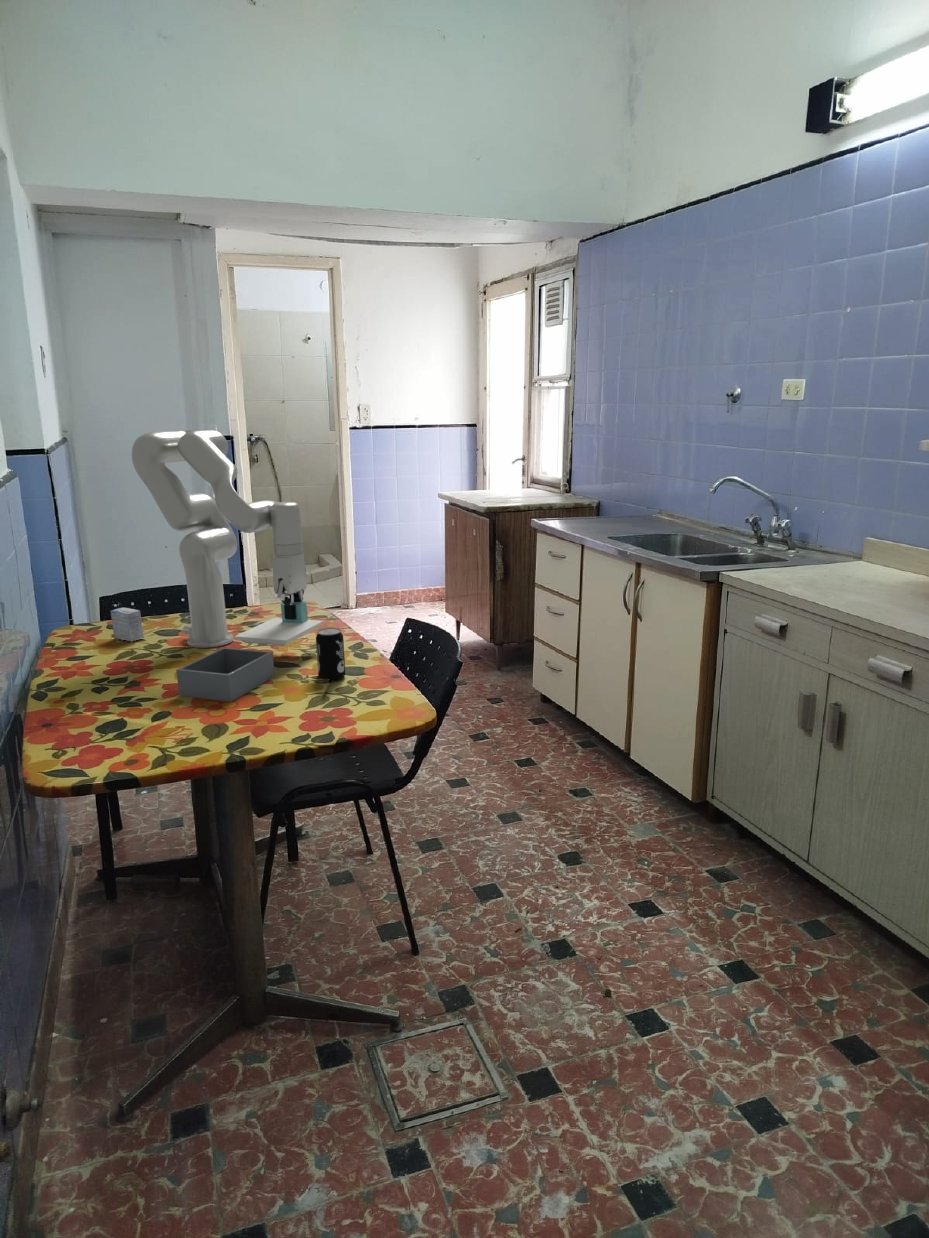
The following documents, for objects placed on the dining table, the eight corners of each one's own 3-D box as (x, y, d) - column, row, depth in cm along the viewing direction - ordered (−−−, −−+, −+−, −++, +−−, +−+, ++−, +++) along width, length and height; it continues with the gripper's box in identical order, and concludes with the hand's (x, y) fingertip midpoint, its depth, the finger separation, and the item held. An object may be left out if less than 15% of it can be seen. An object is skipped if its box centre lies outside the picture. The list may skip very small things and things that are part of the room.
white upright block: (144, 639, 236) (140, 610, 234) (131, 643, 232) (127, 613, 230) (127, 635, 240) (123, 606, 238) (113, 639, 236) (109, 610, 234)
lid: (235, 644, 207) (232, 617, 205) (275, 624, 224) (273, 599, 222) (286, 648, 202) (284, 620, 200) (324, 628, 219) (322, 602, 218)
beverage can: (333, 684, 196) (330, 636, 193) (312, 679, 199) (309, 632, 196) (351, 676, 201) (348, 629, 198) (330, 672, 204) (327, 625, 201)
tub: (179, 698, 188) (176, 669, 186) (225, 674, 204) (223, 647, 202) (231, 705, 183) (228, 675, 181) (274, 679, 200) (272, 652, 198)
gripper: (292, 544, 223) (297, 609, 228) (259, 554, 208) (265, 624, 213) (316, 544, 221) (321, 610, 226) (284, 555, 206) (290, 626, 211)
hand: (294, 616), depth 219 cm, fingers closed on lid, 3 cm apart
